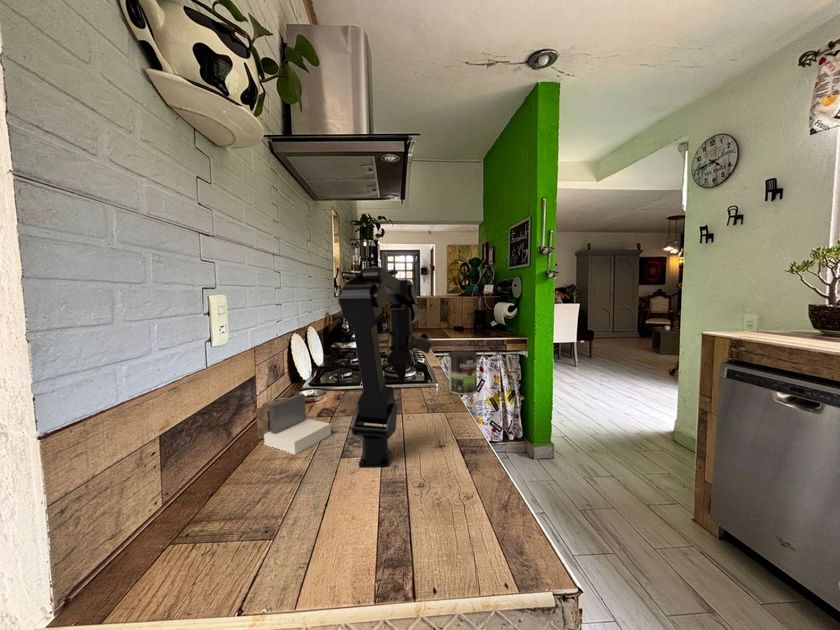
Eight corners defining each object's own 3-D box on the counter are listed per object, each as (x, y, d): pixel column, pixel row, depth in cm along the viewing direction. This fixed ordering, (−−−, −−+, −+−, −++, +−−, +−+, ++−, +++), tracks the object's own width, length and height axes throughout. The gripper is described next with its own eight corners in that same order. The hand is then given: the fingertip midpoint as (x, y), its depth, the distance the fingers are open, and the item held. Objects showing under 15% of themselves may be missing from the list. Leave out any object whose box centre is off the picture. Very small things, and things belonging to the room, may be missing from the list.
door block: (330, 434, 91) (330, 423, 91) (295, 454, 80) (294, 442, 80) (302, 427, 96) (301, 417, 96) (264, 445, 85) (264, 434, 85)
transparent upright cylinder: (482, 392, 124) (482, 353, 123) (457, 396, 120) (457, 356, 118) (467, 385, 133) (467, 349, 132) (444, 389, 129) (443, 351, 128)
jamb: (293, 430, 94) (292, 401, 94) (268, 441, 87) (267, 411, 87) (283, 427, 96) (281, 399, 96) (258, 438, 89) (256, 408, 89)
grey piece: (305, 419, 93) (304, 394, 93) (274, 433, 85) (273, 405, 84) (286, 415, 97) (285, 390, 96) (254, 428, 88) (253, 401, 87)
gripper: (430, 329, 85) (432, 391, 86) (429, 322, 104) (430, 373, 105) (385, 330, 85) (387, 392, 87) (392, 323, 104) (394, 374, 105)
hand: (402, 382), depth 96 cm, fingers closed
